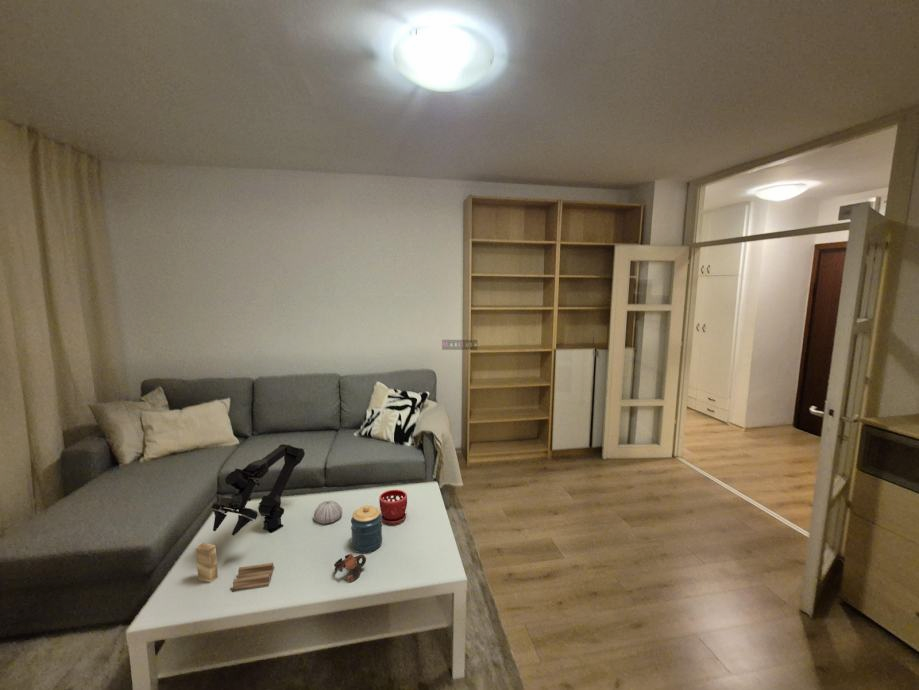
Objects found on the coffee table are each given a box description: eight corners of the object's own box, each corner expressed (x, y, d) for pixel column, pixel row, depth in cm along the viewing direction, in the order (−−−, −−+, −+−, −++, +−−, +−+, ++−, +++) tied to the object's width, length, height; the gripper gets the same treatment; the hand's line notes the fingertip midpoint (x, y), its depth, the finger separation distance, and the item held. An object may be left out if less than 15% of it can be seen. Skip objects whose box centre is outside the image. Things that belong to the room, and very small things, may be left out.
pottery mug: (342, 589, 145) (333, 567, 146) (338, 584, 153) (330, 564, 154) (372, 569, 152) (363, 548, 153) (366, 565, 160) (358, 546, 161)
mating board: (240, 572, 152) (240, 565, 152) (274, 567, 155) (273, 560, 155) (232, 591, 143) (232, 584, 142) (268, 586, 146) (268, 578, 145)
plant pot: (412, 516, 192) (412, 493, 191) (394, 529, 181) (394, 505, 180) (392, 508, 199) (392, 486, 197) (373, 520, 188) (373, 497, 186)
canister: (388, 543, 171) (387, 505, 169) (362, 558, 162) (361, 518, 159) (370, 531, 180) (370, 494, 177) (345, 544, 170) (344, 506, 168)
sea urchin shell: (307, 522, 187) (306, 506, 185) (327, 508, 199) (326, 493, 198) (329, 528, 181) (329, 512, 180) (348, 513, 194) (348, 498, 193)
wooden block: (205, 574, 151) (202, 542, 150) (217, 577, 150) (215, 545, 148) (198, 579, 149) (195, 547, 147) (210, 582, 147) (208, 550, 145)
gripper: (213, 483, 160) (190, 523, 151) (250, 490, 155) (229, 532, 146) (230, 492, 169) (209, 531, 160) (266, 499, 164) (247, 539, 155)
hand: (223, 533), depth 155 cm, fingers open, 9 cm apart
